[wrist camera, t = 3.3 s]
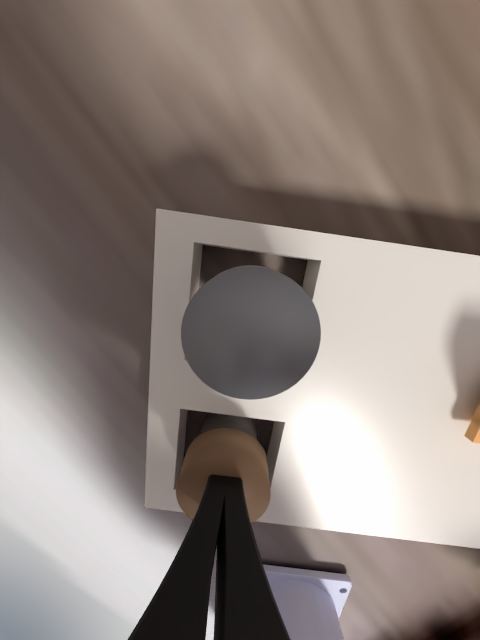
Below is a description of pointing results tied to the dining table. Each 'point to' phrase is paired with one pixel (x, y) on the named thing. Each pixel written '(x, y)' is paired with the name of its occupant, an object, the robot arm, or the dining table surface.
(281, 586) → the robot arm
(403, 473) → the panel
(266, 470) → the button walnut
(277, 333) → the grey push button
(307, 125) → the dining table surface
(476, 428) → the slider handle
